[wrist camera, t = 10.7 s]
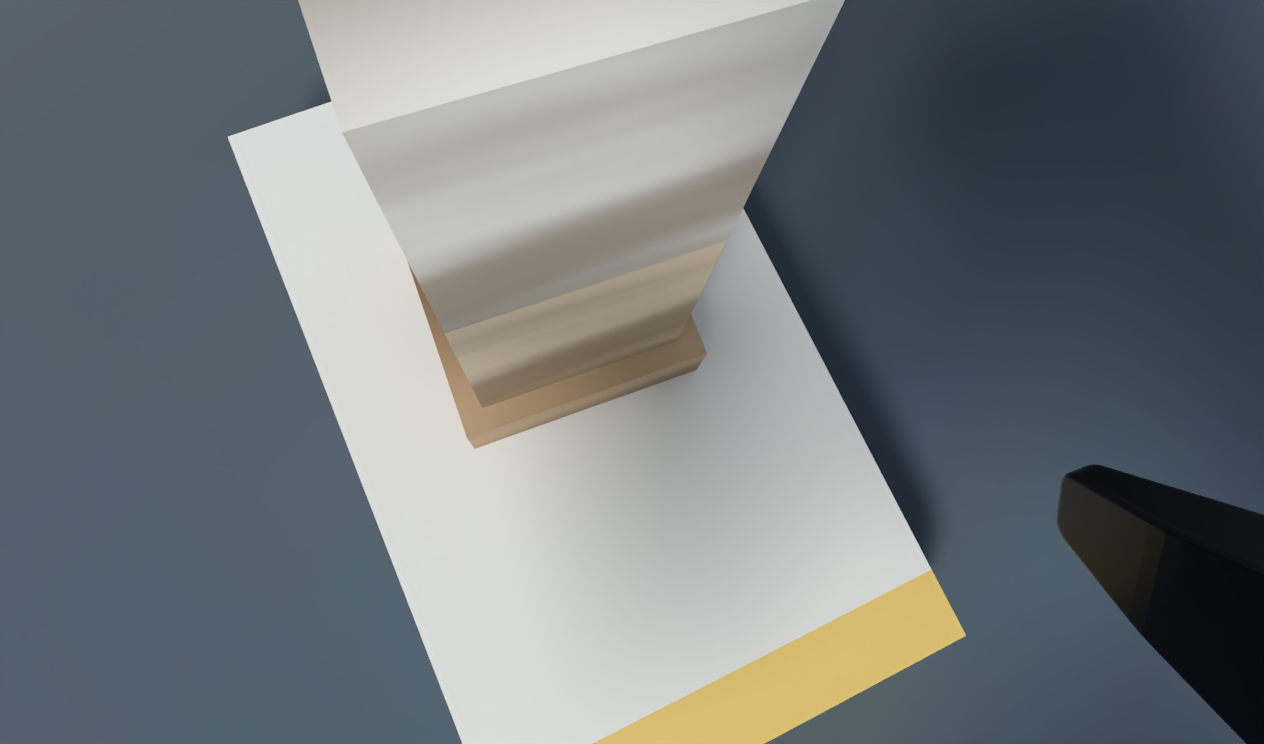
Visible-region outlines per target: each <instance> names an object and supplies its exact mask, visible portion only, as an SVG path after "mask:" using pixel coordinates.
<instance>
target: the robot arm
mask: <svg viewBox="0 0 1264 744" xmlns="http://www.w3.org/2000/svg"><path fill="white" fill-rule="evenodd" d="M1057 525H1058V528H1059V531H1060V533H1061V535H1062V537H1063V538H1064V540H1065V541H1066V542H1067V543H1068V545H1069V546H1070V547H1071V548H1072V550H1073V551H1074V552H1075V553H1076V555H1077V556H1078V557H1079V558H1080V560H1081V561H1082V562H1083V563H1084V565H1085V566H1086V567H1087V568H1088V570H1089V571H1090V572H1091V573H1092V575H1093V576H1094V577H1095V578H1096V580H1097V581H1098V582H1099V583H1100V585H1101V586H1102V587H1103V588H1104V590H1105V591H1106V592H1107V593H1108V595H1109V596H1110V597H1111V598H1112V600H1113V601H1114V602H1115V603H1116V605H1117V606H1118V607H1119V608H1120V610H1121V611H1122V612H1123V613H1124V615H1125V616H1126V617H1127V618H1128V620H1129V621H1130V622H1131V623H1132V624H1133V625H1134V627H1135V628H1136V629H1137V630H1138V631H1139V632H1140V634H1141V635H1142V636H1143V637H1144V638H1145V639H1146V640H1147V641H1148V642H1149V643H1150V645H1151V646H1152V647H1153V648H1154V649H1155V650H1156V651H1157V652H1158V653H1159V654H1160V655H1161V656H1162V657H1163V658H1164V659H1165V660H1166V661H1167V662H1168V663H1169V664H1170V666H1171V667H1172V668H1173V669H1174V670H1175V671H1176V672H1177V673H1178V674H1179V675H1180V676H1181V677H1182V678H1183V679H1184V680H1185V681H1186V682H1187V683H1188V684H1189V685H1190V686H1191V687H1192V688H1193V689H1194V690H1195V691H1196V692H1197V693H1198V694H1199V695H1200V696H1201V698H1202V699H1203V700H1204V701H1205V702H1206V703H1207V704H1208V705H1209V706H1210V707H1211V708H1212V709H1213V710H1214V711H1215V712H1216V713H1217V714H1218V715H1219V716H1220V717H1221V718H1222V719H1223V720H1224V721H1225V722H1226V723H1227V724H1228V725H1229V726H1230V727H1231V729H1232V730H1233V731H1234V732H1235V733H1236V734H1237V735H1238V736H1239V737H1240V738H1241V739H1242V740H1243V741H1244V742H1245V743H1246V744H1264V515H1263V514H1259V513H1256V512H1253V511H1249V510H1246V509H1243V508H1240V507H1236V506H1233V505H1230V504H1226V503H1223V502H1220V501H1216V500H1213V499H1210V498H1207V497H1203V496H1200V495H1197V494H1193V493H1190V492H1187V491H1184V490H1180V489H1177V488H1174V487H1170V486H1167V485H1164V484H1161V483H1157V482H1154V481H1151V480H1147V479H1144V478H1141V477H1138V476H1134V475H1131V474H1128V473H1124V472H1121V471H1118V470H1115V469H1111V468H1108V467H1105V466H1101V465H1088V466H1085V467H1082V468H1080V469H1077V470H1075V471H1073V472H1070V473H1068V474H1066V475H1065V476H1064V477H1063V479H1062V482H1061V487H1060V495H1059V503H1058V511H1057Z"/></svg>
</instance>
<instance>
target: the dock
mask: <svg viewBox="0 0 1264 744" xmlns="http://www.w3.org/2000/svg"><path fill="white" fill-rule="evenodd" d="M228 139H229V141H230V144H231V147H232V149H233V152H234V154H235V157H236V159H237V162H238V165H239V167H240V170H241V172H242V175H243V178H244V180H245V183H246V185H247V188H248V190H249V193H250V196H251V198H252V201H253V203H254V206H255V209H256V211H257V214H258V216H259V219H260V221H261V224H262V227H263V229H264V232H265V234H266V237H267V240H268V242H269V245H270V247H271V250H272V253H273V255H274V258H275V260H276V263H277V265H278V268H279V271H280V273H281V276H282V278H283V281H284V284H285V286H286V289H287V291H288V294H289V296H290V299H291V302H292V304H293V307H294V309H295V312H296V315H297V317H298V320H299V322H300V325H301V327H302V330H303V333H304V335H305V338H306V340H307V343H308V346H309V348H310V351H311V353H312V356H313V358H314V361H315V364H316V366H317V369H318V371H319V374H320V377H321V379H322V382H323V384H324V387H325V389H326V392H327V395H328V397H329V400H330V402H331V405H332V408H333V410H334V413H335V415H336V418H337V421H338V423H339V426H340V428H341V431H342V433H343V436H344V439H345V441H346V444H347V446H348V449H349V452H350V454H351V457H352V459H353V462H354V464H355V467H356V470H357V472H358V475H359V477H360V480H361V483H362V485H363V488H364V490H365V493H366V495H367V498H368V501H369V503H370V506H371V508H372V511H373V514H374V516H375V519H376V521H377V524H378V526H379V529H380V532H381V534H382V537H383V539H384V542H385V545H386V547H387V550H388V552H389V555H390V557H391V560H392V563H393V565H394V568H395V570H396V573H397V576H398V578H399V581H400V583H401V586H402V588H403V591H404V594H405V596H406V599H407V601H408V604H409V607H410V609H411V612H412V614H413V617H414V620H415V622H416V625H417V627H418V630H419V632H420V635H421V638H422V640H423V643H424V645H425V648H426V651H427V653H428V656H429V658H430V661H431V663H432V666H433V669H434V671H435V674H436V676H437V679H438V682H439V684H440V687H441V689H442V692H443V694H444V697H445V700H446V702H447V705H448V707H449V710H450V713H451V715H452V718H453V720H454V723H455V725H456V728H457V731H458V733H459V736H460V738H461V741H462V744H765V743H766V742H768V741H770V740H772V739H774V738H776V737H778V736H779V735H781V734H783V733H785V732H787V731H789V730H791V729H793V728H794V727H796V726H798V725H800V724H802V723H804V722H806V721H808V720H809V719H811V718H813V717H815V716H817V715H819V714H821V713H822V712H824V711H826V710H828V709H830V708H832V707H834V706H836V705H837V704H839V703H841V702H843V701H845V700H847V699H849V698H850V697H852V696H854V695H856V694H858V693H860V692H862V691H864V690H865V689H867V688H869V687H871V686H873V685H875V684H877V683H878V682H880V681H882V680H884V679H886V678H888V677H890V676H892V675H893V674H895V673H897V672H899V671H901V670H903V669H905V668H907V667H908V666H910V665H912V664H914V663H916V662H918V661H920V660H921V659H923V658H925V657H927V656H929V655H931V654H933V653H935V652H936V651H938V650H940V649H942V648H944V647H946V646H948V645H949V644H951V643H953V642H955V641H957V640H959V639H961V638H963V637H964V636H966V635H965V633H964V631H963V629H962V627H961V625H960V623H959V621H958V619H957V617H956V615H955V614H954V612H953V610H952V608H951V606H950V604H949V602H948V600H947V598H946V596H945V594H944V592H943V590H942V589H941V587H940V585H939V583H938V581H937V579H936V577H935V575H934V573H933V571H932V569H931V567H930V566H929V564H928V562H927V560H926V558H925V556H924V554H923V552H922V550H921V548H920V546H919V544H918V543H917V541H916V539H915V537H914V535H913V533H912V531H911V529H910V527H909V525H908V523H907V521H906V519H905V518H904V516H903V514H902V512H901V510H900V508H899V506H898V504H897V502H896V500H895V498H894V496H893V495H892V493H891V491H890V489H889V487H888V485H887V483H886V481H885V479H884V477H883V475H882V473H881V472H880V470H879V468H878V466H877V464H876V462H875V460H874V458H873V456H872V454H871V452H870V450H869V448H868V447H867V445H866V443H865V441H864V439H863V437H862V435H861V433H860V431H859V429H858V427H857V425H856V424H855V422H854V420H853V418H852V416H851V414H850V412H849V410H848V408H847V406H846V404H845V402H844V401H843V399H842V397H841V395H840V393H839V391H838V389H837V387H836V385H835V383H834V381H833V379H832V377H831V376H830V374H829V372H828V370H827V368H826V366H825V364H824V362H823V360H822V358H821V356H820V354H819V353H818V351H817V349H816V347H815V345H814V343H813V341H812V339H811V337H810V335H809V333H808V331H807V330H806V328H805V326H804V324H803V322H802V320H801V318H800V316H799V314H798V312H797V310H796V308H795V306H794V305H793V303H792V301H791V299H790V297H789V295H788V293H787V291H786V289H785V287H784V285H783V283H782V282H781V280H780V278H779V276H778V274H777V272H776V270H775V268H774V266H773V264H772V262H771V260H770V259H769V257H768V255H767V253H766V251H765V249H764V247H763V245H762V243H761V241H760V239H759V237H758V235H757V234H756V232H755V230H754V228H753V226H752V224H751V222H750V220H749V218H748V216H747V214H746V212H745V211H744V209H742V211H741V213H740V215H739V217H738V219H737V221H736V223H735V225H734V227H733V229H732V231H731V233H730V235H729V237H728V239H727V241H726V243H725V246H724V248H723V250H722V252H721V254H720V256H719V258H718V260H717V262H716V264H715V266H714V268H713V270H712V272H711V274H710V276H709V278H708V280H707V282H706V284H705V286H704V288H703V290H702V292H701V294H700V296H699V299H698V301H697V303H696V305H695V307H694V309H693V311H692V313H691V315H692V318H693V320H694V323H695V325H696V327H697V330H698V332H699V335H700V337H701V340H702V342H703V345H704V347H705V349H706V352H707V355H706V356H705V358H704V359H703V361H702V362H701V364H700V365H699V367H698V368H697V370H695V371H692V372H689V373H687V374H684V375H681V376H678V377H675V378H673V379H670V380H667V381H664V382H661V383H658V384H656V385H653V386H650V387H647V388H644V389H642V390H639V391H636V392H633V393H630V394H627V395H625V396H622V397H619V398H616V399H613V400H611V401H608V402H605V403H602V404H599V405H597V406H594V407H591V408H588V409H585V410H582V411H580V412H577V413H574V414H571V415H568V416H566V417H563V418H560V419H557V420H554V421H551V422H549V423H546V424H543V425H540V426H537V427H535V428H532V429H529V430H526V431H523V432H520V433H518V434H515V435H512V436H509V437H506V438H504V439H501V440H498V441H495V442H492V443H490V444H487V445H484V446H481V447H478V448H474V447H473V446H472V444H471V443H470V442H469V440H468V439H467V437H466V434H465V431H464V428H463V425H462V422H461V419H460V416H459V413H458V410H457V407H456V404H455V401H454V398H453V395H452V392H451V389H450V386H449V383H448V380H447V377H446V374H445V371H444V368H443V365H442V362H441V360H440V357H439V354H438V351H437V348H436V345H435V342H434V339H433V336H432V333H431V330H430V327H429V324H428V321H427V318H426V315H425V312H424V309H423V306H422V303H421V300H420V297H419V294H418V291H417V288H416V285H415V282H414V279H413V276H412V273H411V270H410V268H409V265H408V262H407V259H406V257H405V255H404V253H403V251H402V249H401V247H400V245H399V244H398V242H397V240H396V238H395V236H394V234H393V232H392V230H391V228H390V226H389V224H388V222H387V220H386V218H385V216H384V214H383V212H382V210H381V208H380V206H379V204H378V202H377V200H376V198H375V196H374V194H373V192H372V190H371V189H370V187H369V185H368V183H367V181H366V179H365V177H364V175H363V173H362V171H361V169H360V167H359V165H358V163H357V161H356V159H355V157H354V155H353V153H352V151H351V149H350V147H349V145H348V143H347V141H346V139H345V137H344V135H343V134H342V131H341V128H340V125H339V122H338V119H337V116H336V113H335V110H334V107H333V104H332V102H329V103H326V104H323V105H320V106H317V107H314V108H311V109H308V110H305V111H302V112H299V113H296V114H293V115H290V116H287V117H284V118H282V119H279V120H276V121H273V122H270V123H267V124H264V125H261V126H258V127H255V128H252V129H249V130H246V131H243V132H240V133H237V134H234V135H232V136H229V137H228Z"/></svg>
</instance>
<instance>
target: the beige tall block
mask: <svg viewBox="0 0 1264 744" xmlns="http://www.w3.org/2000/svg"><path fill="white" fill-rule="evenodd" d="M298 1H299V4H300V7H301V10H302V13H303V16H304V19H305V22H306V25H307V28H308V31H309V34H310V37H311V40H312V43H313V46H314V49H315V52H316V55H317V58H318V61H319V64H320V67H321V71H322V74H323V77H324V80H325V83H326V86H327V89H328V92H329V95H330V98H331V101H332V104H333V107H334V110H335V113H336V116H337V119H338V122H339V125H340V128H341V131H342V134H343V135H344V137H345V139H346V141H347V143H348V145H349V147H350V149H351V151H352V153H353V155H354V157H355V159H356V161H357V163H358V165H359V167H360V169H361V171H362V173H363V175H364V177H365V179H366V181H367V183H368V185H369V187H370V189H371V190H372V192H373V194H374V196H375V198H376V200H377V202H378V204H379V206H380V208H381V210H382V212H383V214H384V216H385V218H386V220H387V222H388V224H389V226H390V228H391V230H392V232H393V234H394V236H395V238H396V240H397V242H398V244H399V245H400V247H401V249H402V251H403V253H404V255H405V257H406V259H407V262H408V265H409V268H410V270H411V273H412V276H413V279H414V282H415V285H416V288H417V291H418V294H419V297H420V300H421V303H422V306H423V309H424V312H425V315H426V318H427V321H428V324H429V327H430V330H431V333H432V336H433V339H434V342H435V345H436V348H437V351H438V354H439V357H440V360H441V362H442V365H443V368H444V371H445V374H446V377H447V380H448V383H449V386H450V389H451V392H452V395H453V398H454V401H455V404H456V407H457V410H458V413H459V416H460V419H461V422H462V425H463V428H464V431H465V434H466V437H467V439H468V440H469V442H470V443H471V444H472V446H473V447H474V448H478V447H481V446H484V445H487V444H490V443H492V442H495V441H498V440H501V439H504V438H506V437H509V436H512V435H515V434H518V433H520V432H523V431H526V430H529V429H532V428H535V427H537V426H540V425H543V424H546V423H549V422H551V421H554V420H557V419H560V418H563V417H566V416H568V415H571V414H574V413H577V412H580V411H582V410H585V409H588V408H591V407H594V406H597V405H599V404H602V403H605V402H608V401H611V400H613V399H616V398H619V397H622V396H625V395H627V394H630V393H633V392H636V391H639V390H642V389H644V388H647V387H650V386H653V385H656V384H658V383H661V382H664V381H667V380H670V379H673V378H675V377H678V376H681V375H684V374H687V373H689V372H692V371H695V370H697V368H698V367H699V365H700V364H701V362H702V361H703V359H704V358H705V356H706V355H707V352H706V349H705V347H704V345H703V342H702V340H701V337H700V335H699V332H698V330H697V327H696V325H695V323H694V320H693V318H692V315H691V313H692V311H693V309H694V307H695V305H696V303H697V301H698V299H699V296H700V294H701V292H702V290H703V288H704V286H705V284H706V282H707V280H708V278H709V276H710V274H711V272H712V270H713V268H714V266H715V264H716V262H717V260H718V258H719V256H720V254H721V252H722V250H723V248H724V246H725V243H726V241H727V239H728V237H729V235H730V233H731V231H732V229H733V227H734V225H735V223H736V221H737V219H738V217H739V215H740V213H741V211H742V209H743V207H744V205H745V203H746V201H747V199H748V197H749V195H750V193H751V190H752V188H753V186H754V184H755V182H756V180H757V178H758V176H759V174H760V172H761V170H762V168H763V166H764V164H765V162H766V160H767V158H768V156H769V154H770V152H771V150H772V148H773V146H774V144H775V142H776V140H777V137H778V135H779V133H780V131H781V129H782V127H783V125H784V123H785V121H786V119H787V117H788V115H789V113H790V111H791V109H792V107H793V105H794V103H795V101H796V99H797V97H798V95H799V93H800V91H801V89H802V87H803V84H804V82H805V80H806V78H807V76H808V74H809V72H810V70H811V68H812V66H813V64H814V62H815V60H816V58H817V56H818V54H819V52H820V50H821V48H822V46H823V44H824V42H825V40H826V38H827V36H828V34H829V31H830V29H831V27H832V25H833V23H834V21H835V19H836V17H837V15H838V13H839V11H840V9H841V7H842V5H843V3H844V1H845V0H298Z"/></svg>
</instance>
